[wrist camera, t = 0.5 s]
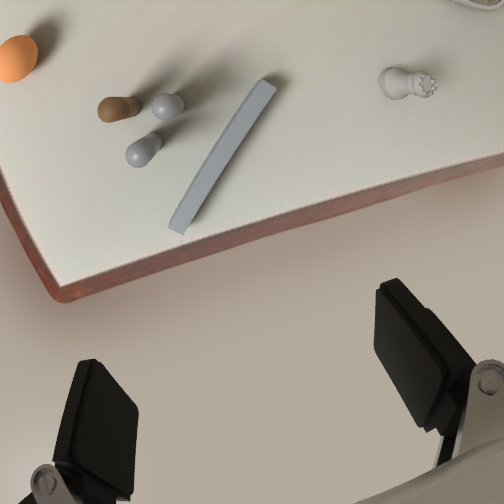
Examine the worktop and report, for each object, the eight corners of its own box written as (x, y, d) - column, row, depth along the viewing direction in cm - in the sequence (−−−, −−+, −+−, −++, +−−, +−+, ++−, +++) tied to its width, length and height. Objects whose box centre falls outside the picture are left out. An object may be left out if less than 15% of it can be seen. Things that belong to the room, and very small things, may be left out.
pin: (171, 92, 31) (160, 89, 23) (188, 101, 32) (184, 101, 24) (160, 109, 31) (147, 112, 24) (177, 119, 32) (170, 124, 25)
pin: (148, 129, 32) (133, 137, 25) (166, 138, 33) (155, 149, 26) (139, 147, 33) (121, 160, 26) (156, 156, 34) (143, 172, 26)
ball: (23, 33, 22) (-1, 28, 17) (54, 45, 25) (31, 38, 19) (3, 75, 24) (-23, 75, 19) (32, 88, 26) (7, 89, 21)
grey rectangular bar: (258, 80, 31) (262, 78, 29) (272, 89, 32) (277, 88, 30) (170, 219, 38) (168, 227, 36) (184, 227, 39) (183, 235, 36)
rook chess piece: (408, 79, 33) (446, 81, 26) (397, 105, 35) (434, 111, 28) (384, 61, 32) (421, 58, 25) (372, 88, 33) (408, 89, 26)
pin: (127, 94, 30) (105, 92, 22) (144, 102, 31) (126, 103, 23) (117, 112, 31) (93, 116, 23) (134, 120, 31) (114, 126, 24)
